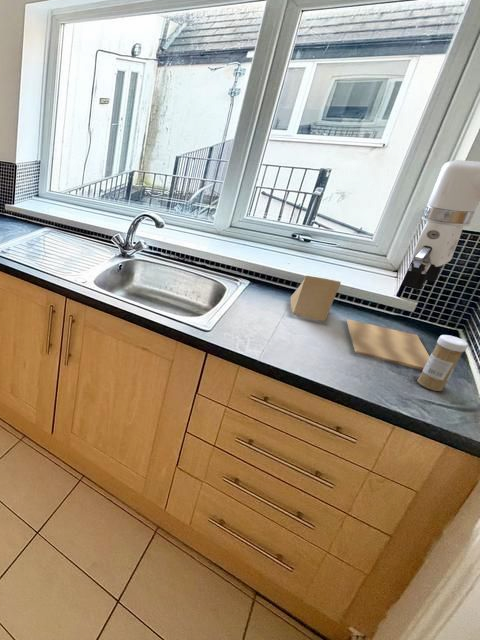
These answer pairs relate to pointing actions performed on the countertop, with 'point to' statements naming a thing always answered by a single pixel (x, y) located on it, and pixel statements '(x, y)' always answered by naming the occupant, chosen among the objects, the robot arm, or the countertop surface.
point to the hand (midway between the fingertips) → (418, 283)
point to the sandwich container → (314, 297)
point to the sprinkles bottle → (442, 362)
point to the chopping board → (388, 344)
